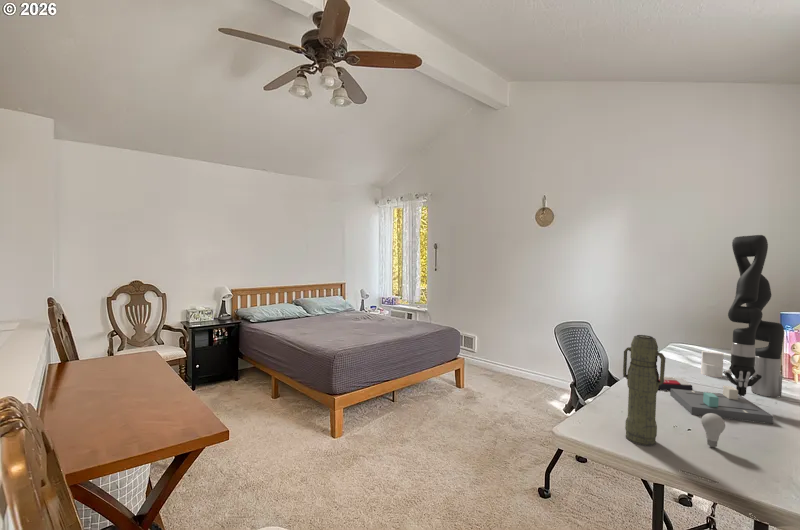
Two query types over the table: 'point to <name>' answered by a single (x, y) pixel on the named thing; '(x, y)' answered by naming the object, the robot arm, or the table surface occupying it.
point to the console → (721, 406)
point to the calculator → (675, 384)
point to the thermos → (643, 389)
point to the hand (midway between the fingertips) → (740, 395)
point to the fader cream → (730, 392)
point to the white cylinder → (712, 364)
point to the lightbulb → (712, 428)
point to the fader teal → (710, 399)
